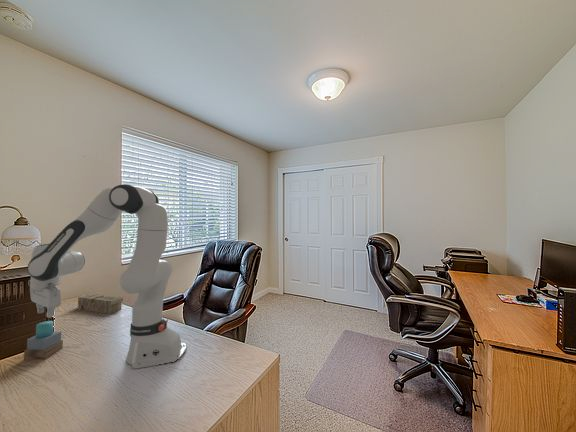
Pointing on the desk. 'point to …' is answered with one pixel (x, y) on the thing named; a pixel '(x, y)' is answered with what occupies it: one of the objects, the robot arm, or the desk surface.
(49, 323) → the teal cylinder
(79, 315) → the desk surface
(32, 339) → the slate-grey upper block
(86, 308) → the block tower
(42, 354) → the walnut base block
